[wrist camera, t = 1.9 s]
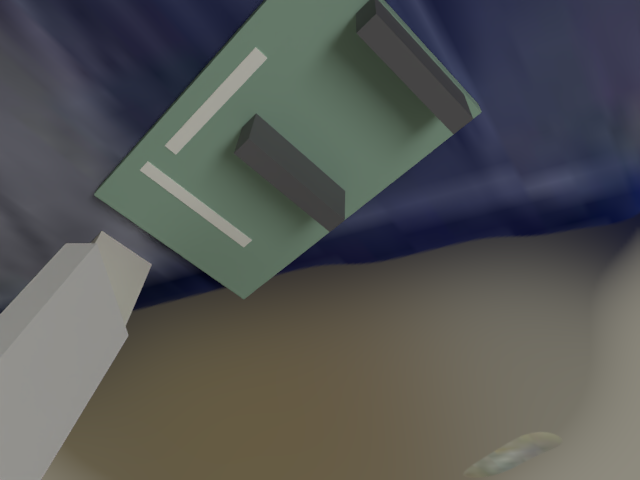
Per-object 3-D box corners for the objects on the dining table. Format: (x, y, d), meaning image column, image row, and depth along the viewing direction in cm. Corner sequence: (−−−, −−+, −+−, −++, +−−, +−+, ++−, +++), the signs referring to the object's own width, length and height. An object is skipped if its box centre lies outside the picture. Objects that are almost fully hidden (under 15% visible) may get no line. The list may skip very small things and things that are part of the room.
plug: (57, 277, 41) (11, 352, 36) (102, 230, 39) (60, 303, 33) (105, 307, 43) (69, 383, 37) (151, 264, 40) (120, 338, 35)
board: (99, 186, 36) (75, 223, 33) (323, -67, 27) (320, -49, 24) (245, 289, 41) (237, 330, 38) (478, 104, 32) (492, 137, 29)
